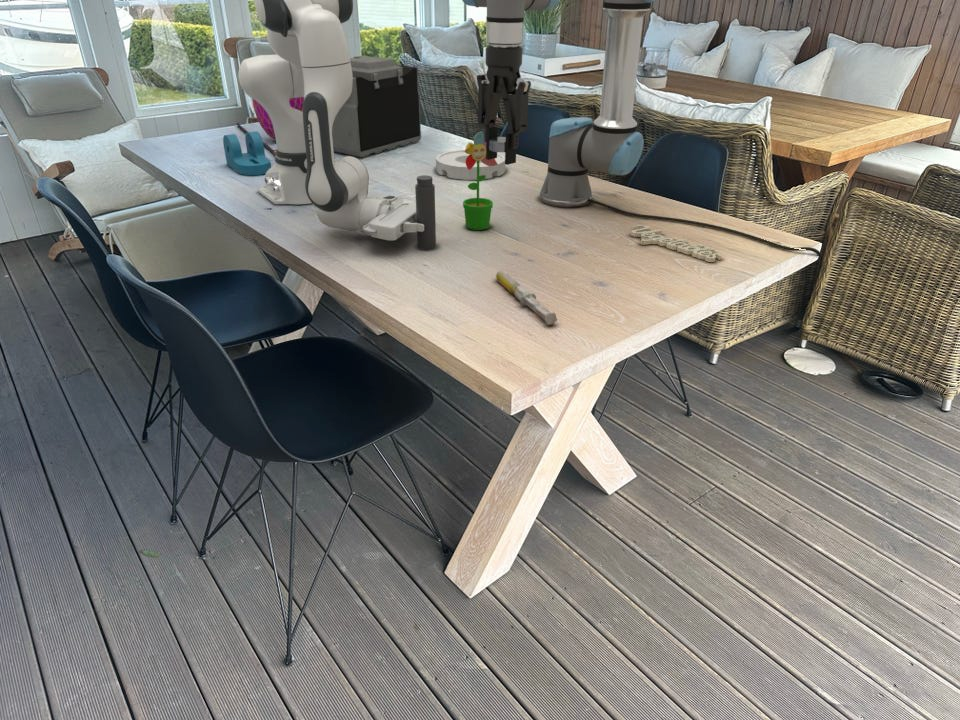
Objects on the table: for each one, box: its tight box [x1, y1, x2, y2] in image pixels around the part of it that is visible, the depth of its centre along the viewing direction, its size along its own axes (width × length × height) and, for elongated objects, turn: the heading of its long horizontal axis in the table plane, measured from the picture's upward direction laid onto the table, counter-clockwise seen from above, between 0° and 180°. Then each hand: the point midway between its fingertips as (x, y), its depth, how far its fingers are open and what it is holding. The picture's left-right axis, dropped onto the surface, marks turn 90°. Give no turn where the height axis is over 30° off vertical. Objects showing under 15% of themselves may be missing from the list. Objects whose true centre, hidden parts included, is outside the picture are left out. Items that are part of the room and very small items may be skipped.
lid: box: [489, 136, 506, 153], centre depth 149 cm, size 5×5×2 cm
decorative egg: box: [251, 97, 304, 141], centre depth 257 cm, size 19×19×30 cm
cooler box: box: [332, 55, 422, 159], centre depth 250 cm, size 37×22×30 cm, turn 144°
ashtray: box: [435, 149, 506, 181], centre depth 229 cm, size 23×23×4 cm
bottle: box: [414, 175, 437, 251], centre depth 165 cm, size 5×5×17 cm
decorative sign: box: [630, 224, 722, 263], centre depth 172 cm, size 26×1×10 cm
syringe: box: [495, 269, 558, 326], centre depth 143 cm, size 25×4×3 cm, turn 21°
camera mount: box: [222, 131, 272, 176], centre depth 226 cm, size 18×10×10 cm, turn 35°
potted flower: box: [462, 131, 498, 231], centre depth 176 cm, size 9×8×25 cm
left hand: (429, 223), depth 167 cm, fingers closed on bottle, 4 cm apart
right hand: (500, 160), depth 151 cm, fingers closed on lid, 5 cm apart
